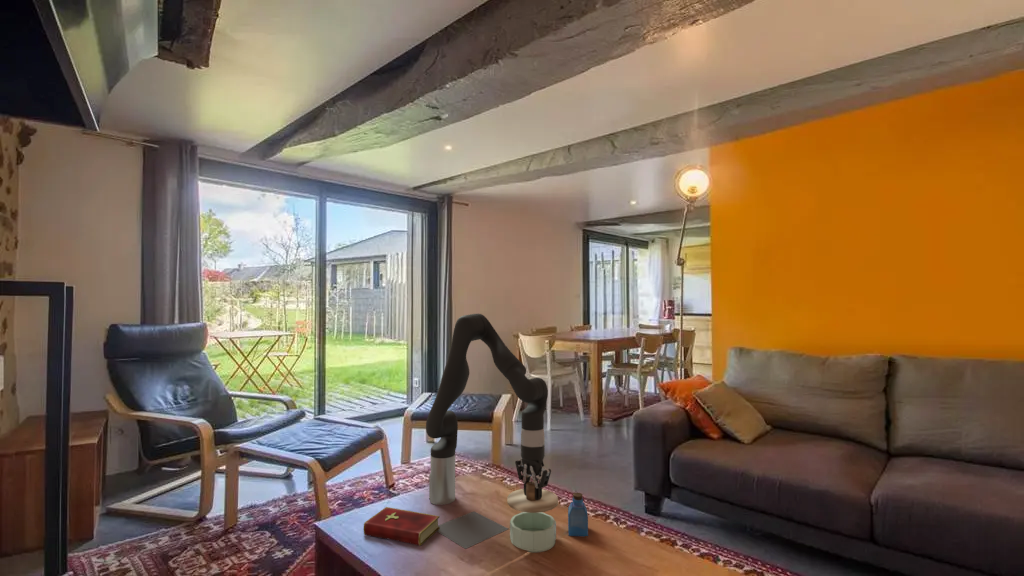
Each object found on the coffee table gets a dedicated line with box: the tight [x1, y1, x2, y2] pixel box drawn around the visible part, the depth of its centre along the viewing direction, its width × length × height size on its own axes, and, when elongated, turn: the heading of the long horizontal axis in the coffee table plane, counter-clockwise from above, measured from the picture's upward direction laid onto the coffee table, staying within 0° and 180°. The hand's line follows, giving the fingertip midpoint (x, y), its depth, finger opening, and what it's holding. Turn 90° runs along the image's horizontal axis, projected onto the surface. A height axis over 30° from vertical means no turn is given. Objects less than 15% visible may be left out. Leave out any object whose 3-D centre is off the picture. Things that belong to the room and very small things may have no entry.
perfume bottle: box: [567, 492, 589, 537], centre depth 156 cm, size 6×6×12 cm
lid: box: [506, 480, 559, 513], centre depth 150 cm, size 16×16×6 cm
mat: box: [436, 510, 509, 550], centre depth 157 cm, size 18×18×1 cm
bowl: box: [509, 511, 557, 554], centre depth 150 cm, size 14×14×6 cm
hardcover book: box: [363, 506, 440, 547], centre depth 155 cm, size 12×21×4 cm, turn 69°
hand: (532, 496), depth 150 cm, fingers closed on lid, 4 cm apart
